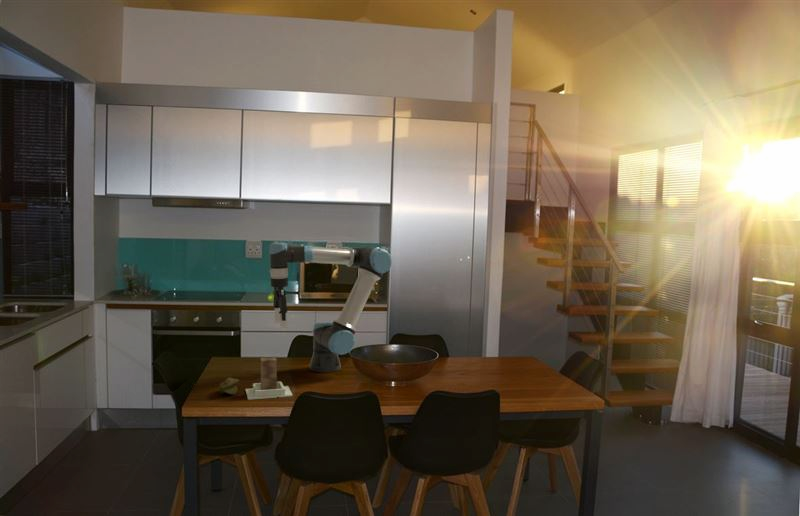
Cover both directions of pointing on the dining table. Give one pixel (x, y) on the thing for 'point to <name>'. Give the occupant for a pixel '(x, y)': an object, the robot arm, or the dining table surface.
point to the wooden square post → (268, 373)
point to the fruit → (229, 386)
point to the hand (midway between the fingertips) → (280, 325)
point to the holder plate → (268, 392)
